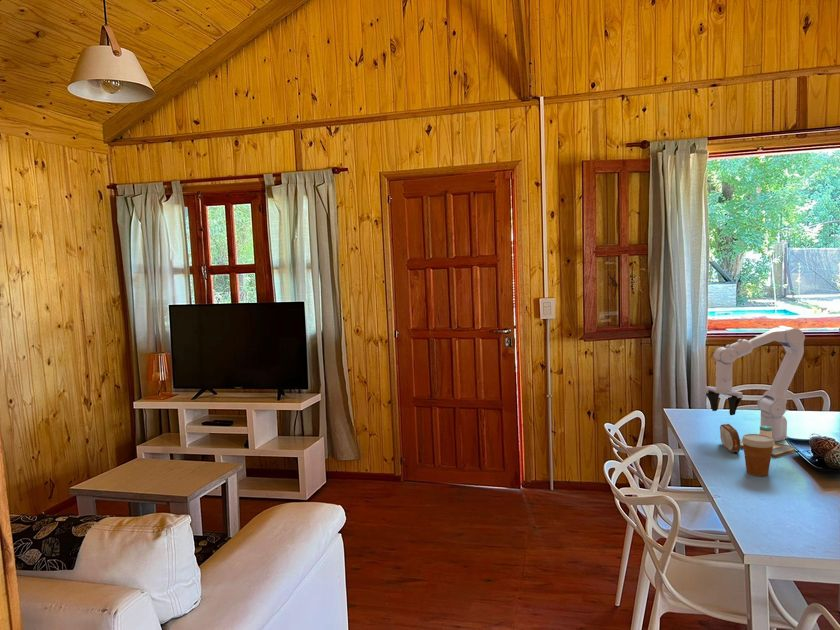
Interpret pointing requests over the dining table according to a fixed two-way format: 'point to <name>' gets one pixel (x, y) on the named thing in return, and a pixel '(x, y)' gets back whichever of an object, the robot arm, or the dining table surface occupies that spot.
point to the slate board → (778, 449)
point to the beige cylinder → (766, 430)
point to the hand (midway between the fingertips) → (723, 412)
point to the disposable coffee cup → (757, 453)
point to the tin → (730, 438)
